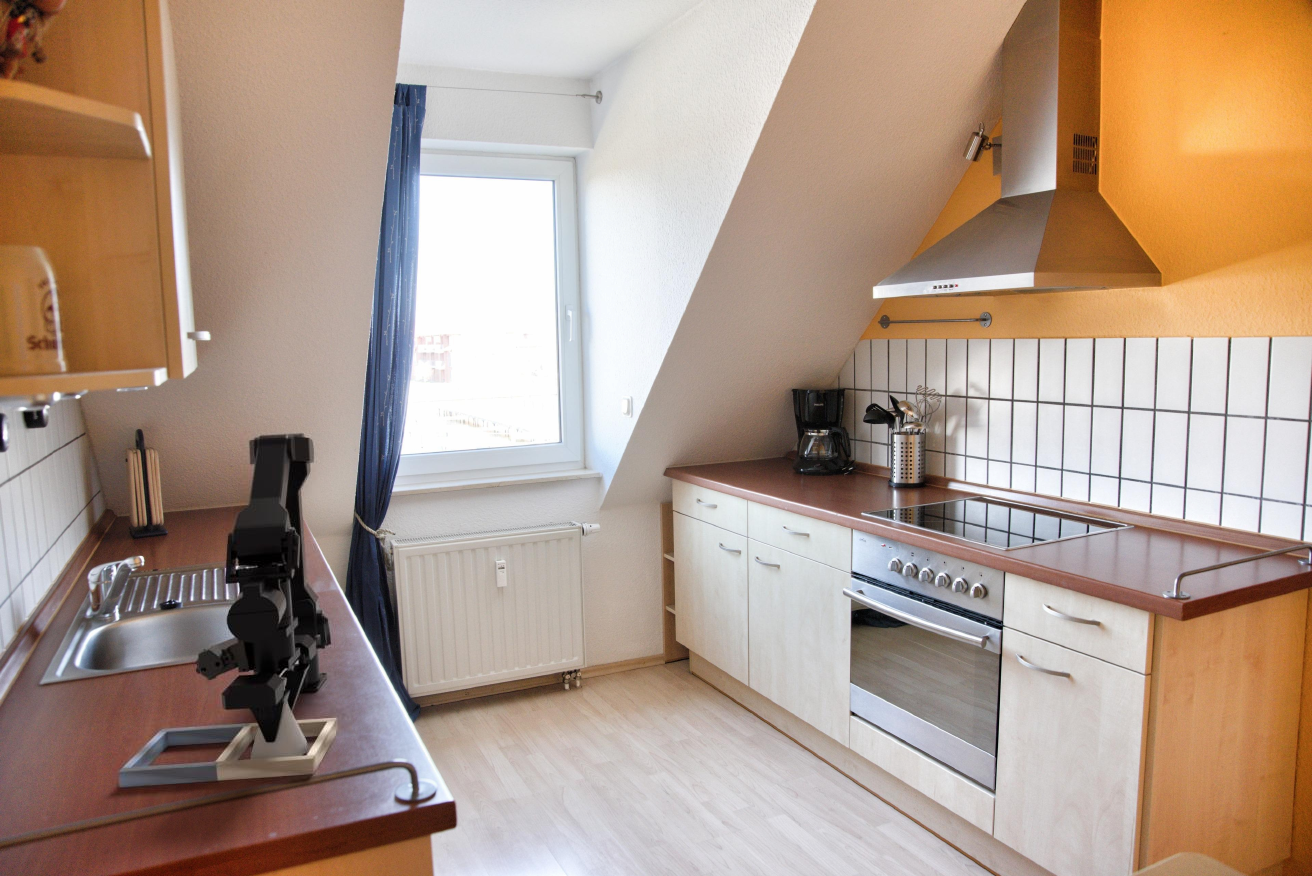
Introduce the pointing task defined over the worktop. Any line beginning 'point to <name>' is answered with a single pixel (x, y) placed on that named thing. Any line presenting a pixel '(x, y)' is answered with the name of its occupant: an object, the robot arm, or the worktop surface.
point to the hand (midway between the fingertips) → (277, 732)
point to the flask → (281, 739)
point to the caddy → (224, 755)
